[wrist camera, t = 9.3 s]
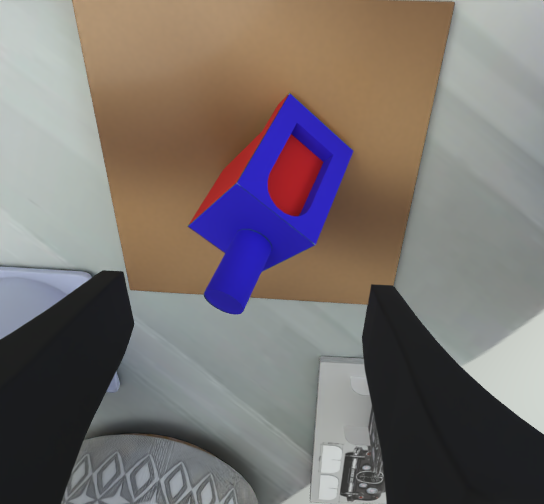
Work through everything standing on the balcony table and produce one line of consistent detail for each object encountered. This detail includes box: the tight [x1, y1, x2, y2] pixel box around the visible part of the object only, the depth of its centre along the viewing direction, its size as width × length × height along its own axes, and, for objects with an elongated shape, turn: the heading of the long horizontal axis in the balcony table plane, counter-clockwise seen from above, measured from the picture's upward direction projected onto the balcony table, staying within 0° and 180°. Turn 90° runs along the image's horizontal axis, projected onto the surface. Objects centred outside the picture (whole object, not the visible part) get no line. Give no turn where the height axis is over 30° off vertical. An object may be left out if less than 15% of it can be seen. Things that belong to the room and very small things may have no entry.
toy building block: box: [187, 93, 353, 314], centre depth 17 cm, size 4×4×8 cm
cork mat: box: [72, 0, 455, 305], centre depth 20 cm, size 14×14×1 cm
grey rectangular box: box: [310, 356, 387, 504], centre depth 28 cm, size 15×7×4 cm, turn 0°
